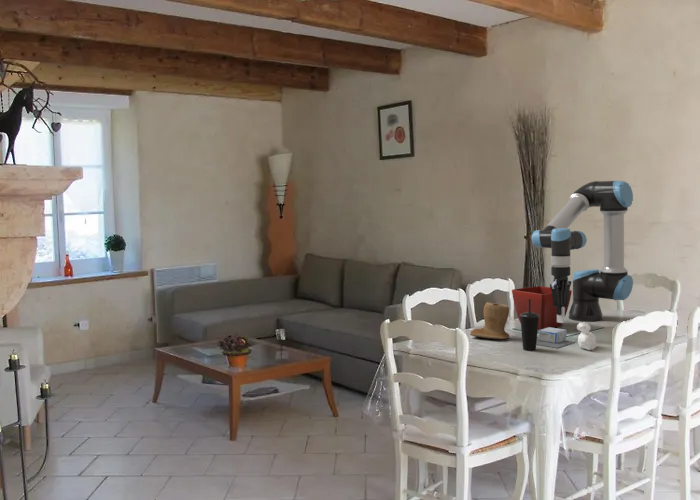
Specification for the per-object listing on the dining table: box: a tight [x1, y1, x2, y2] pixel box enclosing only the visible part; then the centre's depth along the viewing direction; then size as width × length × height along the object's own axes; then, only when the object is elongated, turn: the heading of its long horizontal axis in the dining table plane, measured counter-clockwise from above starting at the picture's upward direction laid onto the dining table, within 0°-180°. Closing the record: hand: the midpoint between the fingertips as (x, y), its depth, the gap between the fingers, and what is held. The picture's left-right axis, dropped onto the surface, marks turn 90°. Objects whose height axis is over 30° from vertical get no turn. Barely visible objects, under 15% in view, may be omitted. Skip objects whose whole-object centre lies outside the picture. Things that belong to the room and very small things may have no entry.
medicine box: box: [538, 327, 567, 343], centre depth 282 cm, size 8×4×9 cm
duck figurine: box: [576, 321, 598, 351], centre depth 269 cm, size 12×8×11 cm
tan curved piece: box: [469, 302, 510, 340], centre depth 290 cm, size 15×12×15 cm
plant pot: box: [511, 285, 573, 331], centre depth 310 cm, size 19×19×17 cm
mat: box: [536, 335, 576, 349], centre depth 280 cm, size 13×16×1 cm
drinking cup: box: [519, 299, 540, 352], centre depth 268 cm, size 8×8×20 cm
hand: (560, 322), depth 286 cm, fingers closed
